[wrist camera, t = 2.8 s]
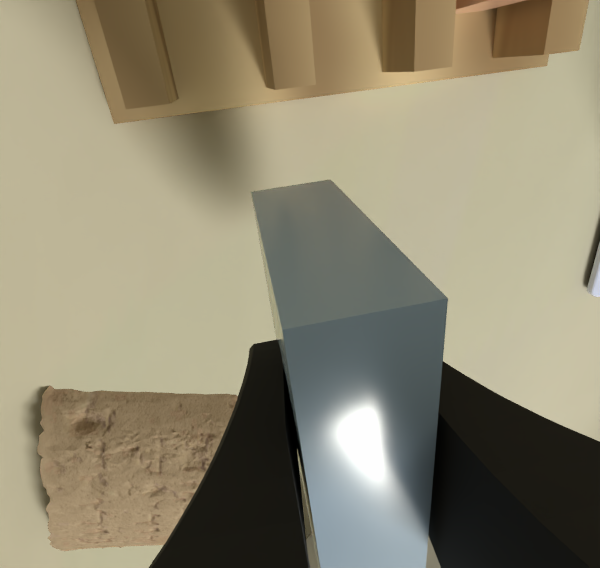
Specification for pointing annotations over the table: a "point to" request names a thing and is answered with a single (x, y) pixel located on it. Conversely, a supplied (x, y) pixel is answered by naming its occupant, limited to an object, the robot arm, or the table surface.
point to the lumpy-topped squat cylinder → (431, 561)
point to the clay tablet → (124, 462)
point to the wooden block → (480, 5)
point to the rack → (306, 48)
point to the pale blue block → (355, 373)
